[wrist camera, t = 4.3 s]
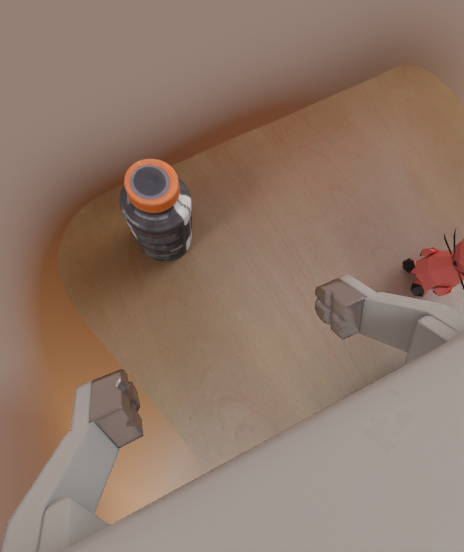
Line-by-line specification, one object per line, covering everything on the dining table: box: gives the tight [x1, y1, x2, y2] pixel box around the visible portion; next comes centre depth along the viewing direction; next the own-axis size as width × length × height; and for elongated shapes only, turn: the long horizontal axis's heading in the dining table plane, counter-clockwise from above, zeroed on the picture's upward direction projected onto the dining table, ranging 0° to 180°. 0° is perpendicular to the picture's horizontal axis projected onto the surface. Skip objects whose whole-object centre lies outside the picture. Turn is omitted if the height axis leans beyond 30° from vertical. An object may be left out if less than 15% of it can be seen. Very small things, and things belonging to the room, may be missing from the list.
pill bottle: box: [120, 159, 192, 261], centre depth 25 cm, size 6×6×11 cm
